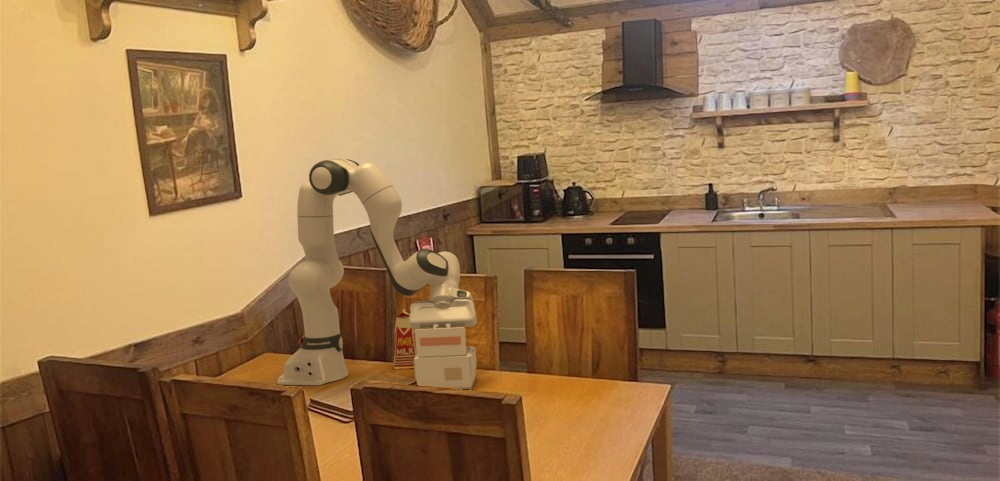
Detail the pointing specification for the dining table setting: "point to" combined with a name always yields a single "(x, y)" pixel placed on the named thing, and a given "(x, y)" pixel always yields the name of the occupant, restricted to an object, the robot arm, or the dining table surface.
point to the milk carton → (404, 342)
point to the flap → (440, 342)
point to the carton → (447, 370)
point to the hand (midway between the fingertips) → (441, 338)
